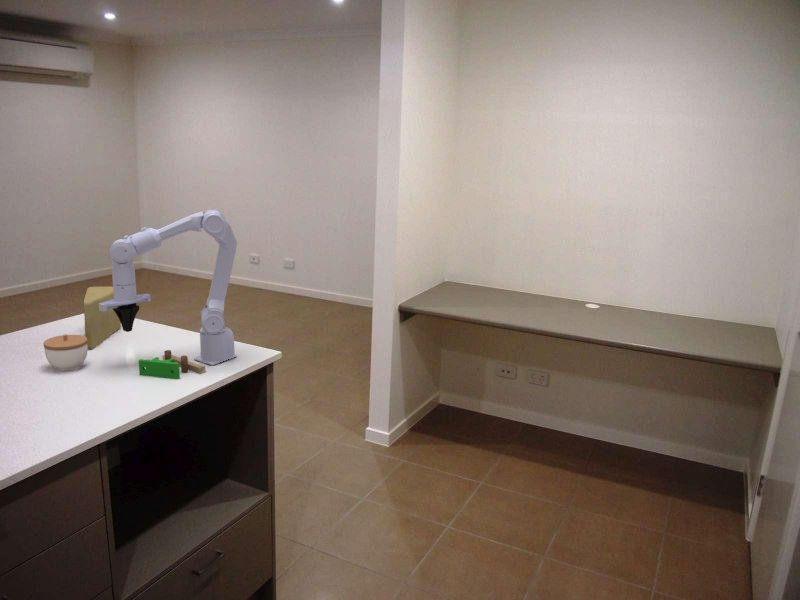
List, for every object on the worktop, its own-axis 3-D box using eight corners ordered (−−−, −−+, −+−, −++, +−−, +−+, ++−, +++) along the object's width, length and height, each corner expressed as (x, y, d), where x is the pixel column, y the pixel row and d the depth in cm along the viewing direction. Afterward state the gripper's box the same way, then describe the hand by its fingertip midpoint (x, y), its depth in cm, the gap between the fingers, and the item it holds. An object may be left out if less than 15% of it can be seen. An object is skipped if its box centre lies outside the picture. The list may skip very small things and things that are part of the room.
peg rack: (168, 359, 178) (167, 344, 177) (205, 372, 170) (204, 356, 169) (155, 363, 175) (154, 348, 174) (192, 376, 167) (192, 361, 165)
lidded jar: (71, 375, 163) (68, 342, 161) (36, 371, 165) (33, 338, 163) (98, 362, 173) (95, 331, 171) (65, 358, 175) (62, 327, 173)
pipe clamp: (184, 375, 168) (183, 359, 167) (177, 380, 164) (177, 364, 163) (146, 371, 169) (146, 355, 168) (139, 375, 166) (138, 360, 165)
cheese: (107, 349, 184) (103, 302, 180) (72, 350, 182) (67, 302, 178) (122, 328, 205) (119, 285, 201) (91, 328, 202) (87, 285, 199)
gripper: (138, 277, 174) (141, 322, 178) (90, 285, 162) (94, 333, 166) (154, 280, 171) (156, 326, 174) (106, 289, 159) (110, 339, 162)
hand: (127, 330), depth 170 cm, fingers closed
